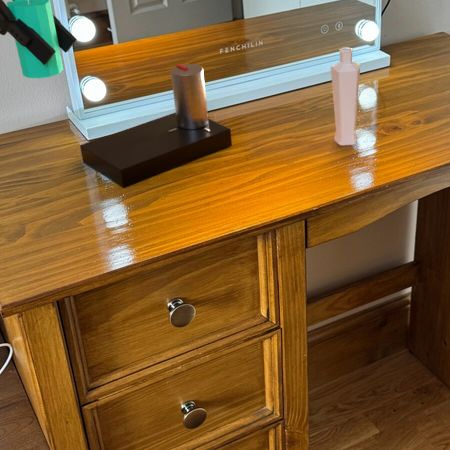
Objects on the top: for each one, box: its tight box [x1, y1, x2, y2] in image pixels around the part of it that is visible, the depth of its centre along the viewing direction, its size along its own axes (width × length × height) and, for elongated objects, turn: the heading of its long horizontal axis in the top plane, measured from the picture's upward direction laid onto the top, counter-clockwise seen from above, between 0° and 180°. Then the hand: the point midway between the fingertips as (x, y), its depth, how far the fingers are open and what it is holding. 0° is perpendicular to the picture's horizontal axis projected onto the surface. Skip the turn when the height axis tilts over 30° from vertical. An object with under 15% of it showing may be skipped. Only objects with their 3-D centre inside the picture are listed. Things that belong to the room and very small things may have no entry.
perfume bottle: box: [330, 46, 361, 146], centre depth 119 cm, size 5×4×15 cm
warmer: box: [79, 111, 233, 189], centre depth 120 cm, size 22×12×3 cm, turn 132°
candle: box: [6, 0, 64, 79], centre depth 111 cm, size 6×6×12 cm
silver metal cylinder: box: [170, 63, 209, 129], centre depth 121 cm, size 5×5×9 cm
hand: (60, 51), depth 111 cm, fingers closed on candle, 5 cm apart
